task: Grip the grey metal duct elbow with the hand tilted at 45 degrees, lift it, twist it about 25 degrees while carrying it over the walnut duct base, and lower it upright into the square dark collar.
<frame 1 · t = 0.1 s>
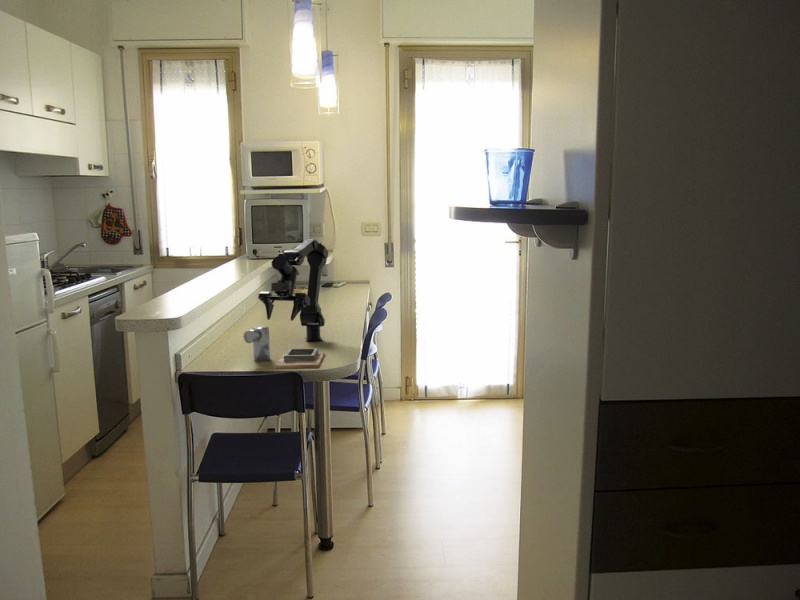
hand: (279, 319, 234), 15 cm above the table, tool tilted 35°, fingers open, 9 cm apart
duct base: (301, 359, 235), on the table
duct elbow: (262, 359, 236), on the table
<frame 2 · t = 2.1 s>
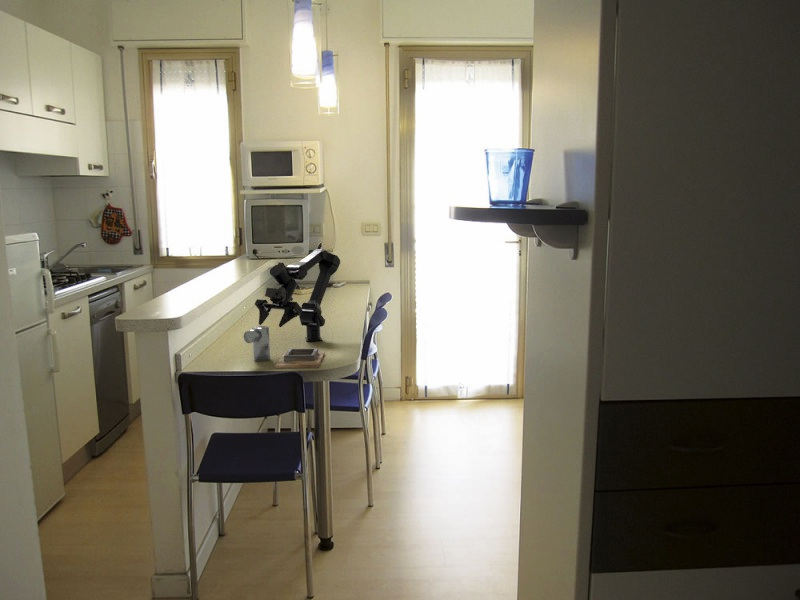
hand: (269, 325, 239), 12 cm above the table, tool tilted 45°, fingers open, 9 cm apart
nothing on the table moved.
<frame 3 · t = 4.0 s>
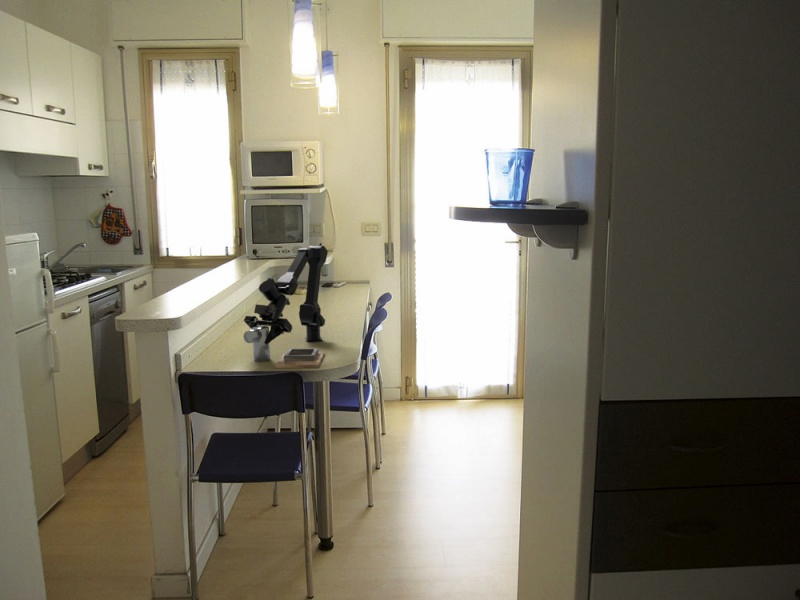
hand: (258, 343, 234), 7 cm above the table, tool tilted 45°, fingers closed on duct elbow, 6 cm apart
duct elbow: (262, 359, 236), on the table, touching gripper
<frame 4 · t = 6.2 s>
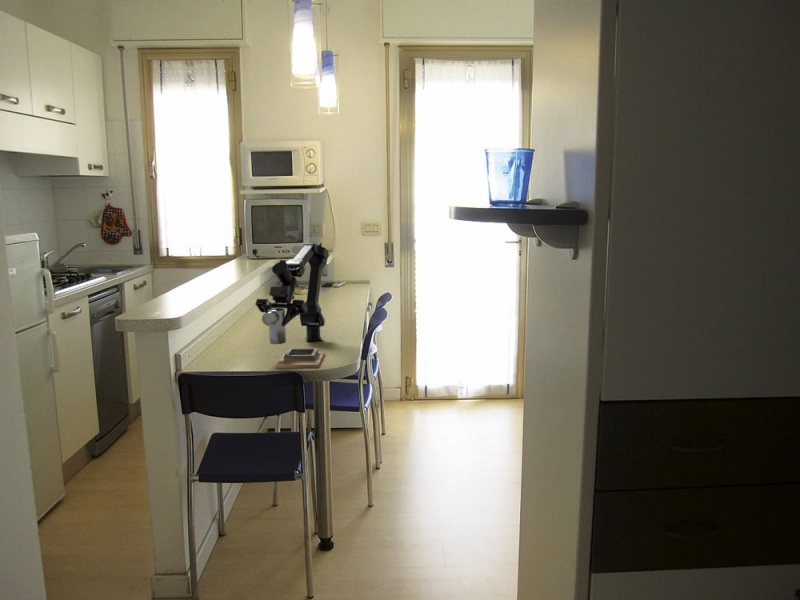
hand: (275, 325, 231), 13 cm above the table, tool tilted 45°, fingers closed on duct elbow, 6 cm apart
duct elbow: (277, 342, 234), point 7 cm above the table, touching gripper
when the fingers open (9 cm above the table, at t = 8.5 s): duct elbow drops 1 cm, resting on duct base.
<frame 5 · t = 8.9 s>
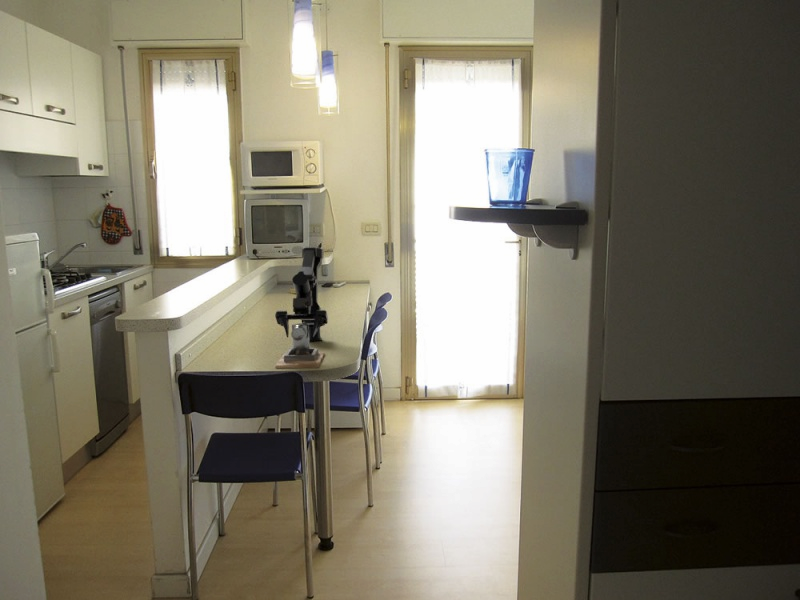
hand: (300, 336, 232), 9 cm above the table, tool tilted 45°, fingers open, 9 cm apart
duct elbow: (301, 357, 235), point 1 cm above the table, touching duct base
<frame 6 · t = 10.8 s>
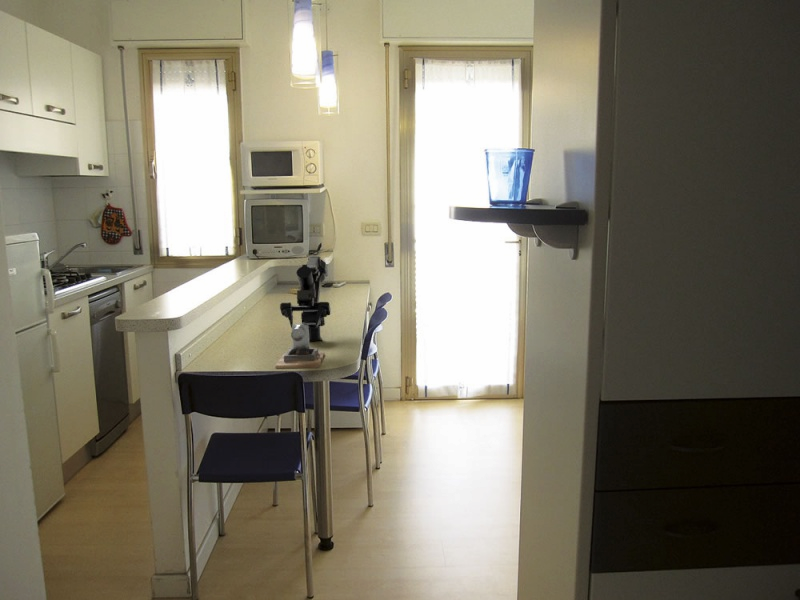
hand: (303, 327, 241), 10 cm above the table, tool tilted 45°, fingers open, 9 cm apart
nothing on the table moved.
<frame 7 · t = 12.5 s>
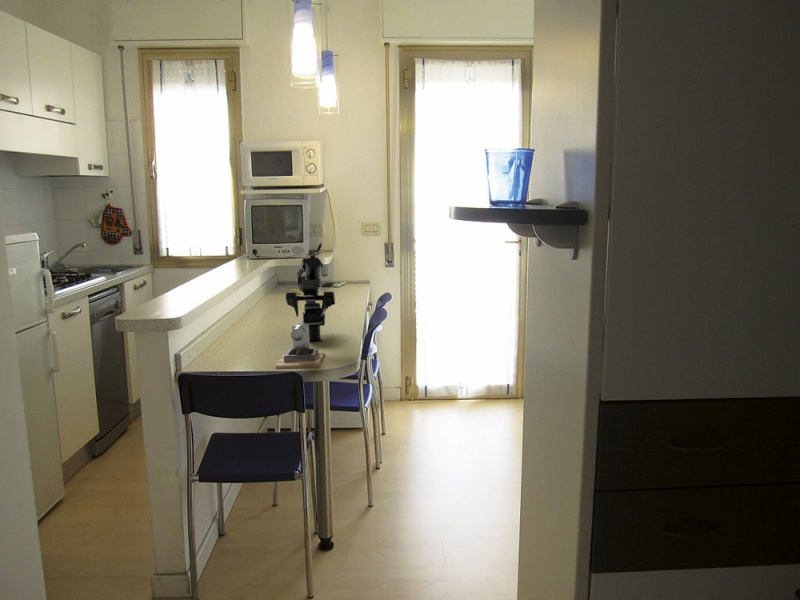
hand: (309, 316, 246), 14 cm above the table, tool tilted 45°, fingers open, 9 cm apart
nothing on the table moved.
at the end: duct elbow 0.1 cm off-centre on the duct base, point 1.0 cm above the duct base's base; duct elbow tilted 0°; the gripper is holding nothing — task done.
